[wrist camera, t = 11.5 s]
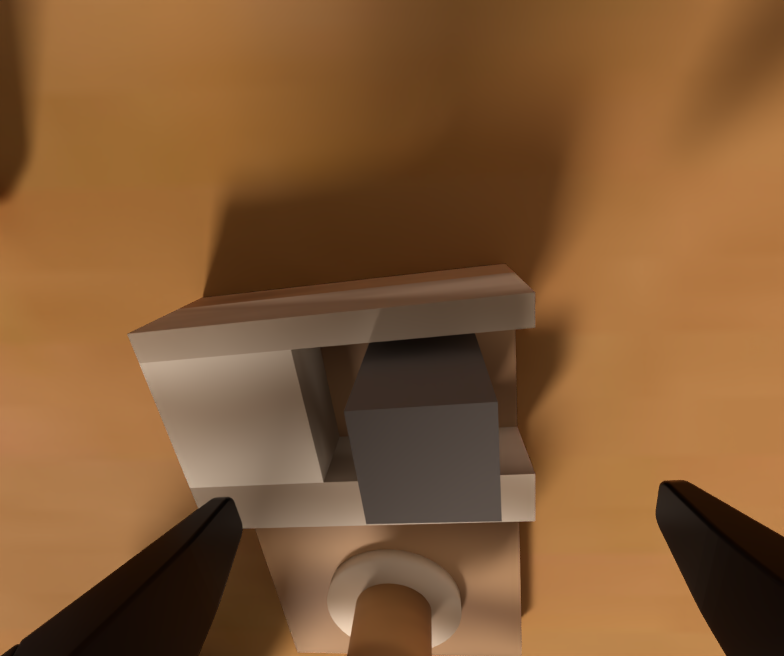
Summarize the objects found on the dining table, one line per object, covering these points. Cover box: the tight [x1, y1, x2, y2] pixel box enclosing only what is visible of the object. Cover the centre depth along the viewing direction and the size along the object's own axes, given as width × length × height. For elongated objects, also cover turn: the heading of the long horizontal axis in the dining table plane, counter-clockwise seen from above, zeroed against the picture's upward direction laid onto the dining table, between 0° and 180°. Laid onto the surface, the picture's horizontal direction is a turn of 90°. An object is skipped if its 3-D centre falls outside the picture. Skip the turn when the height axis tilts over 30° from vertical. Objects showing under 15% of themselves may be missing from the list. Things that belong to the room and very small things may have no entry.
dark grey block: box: [344, 333, 502, 524], centre depth 11 cm, size 4×4×5 cm
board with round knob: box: [128, 264, 535, 656], centre depth 14 cm, size 20×12×8 cm, turn 8°
